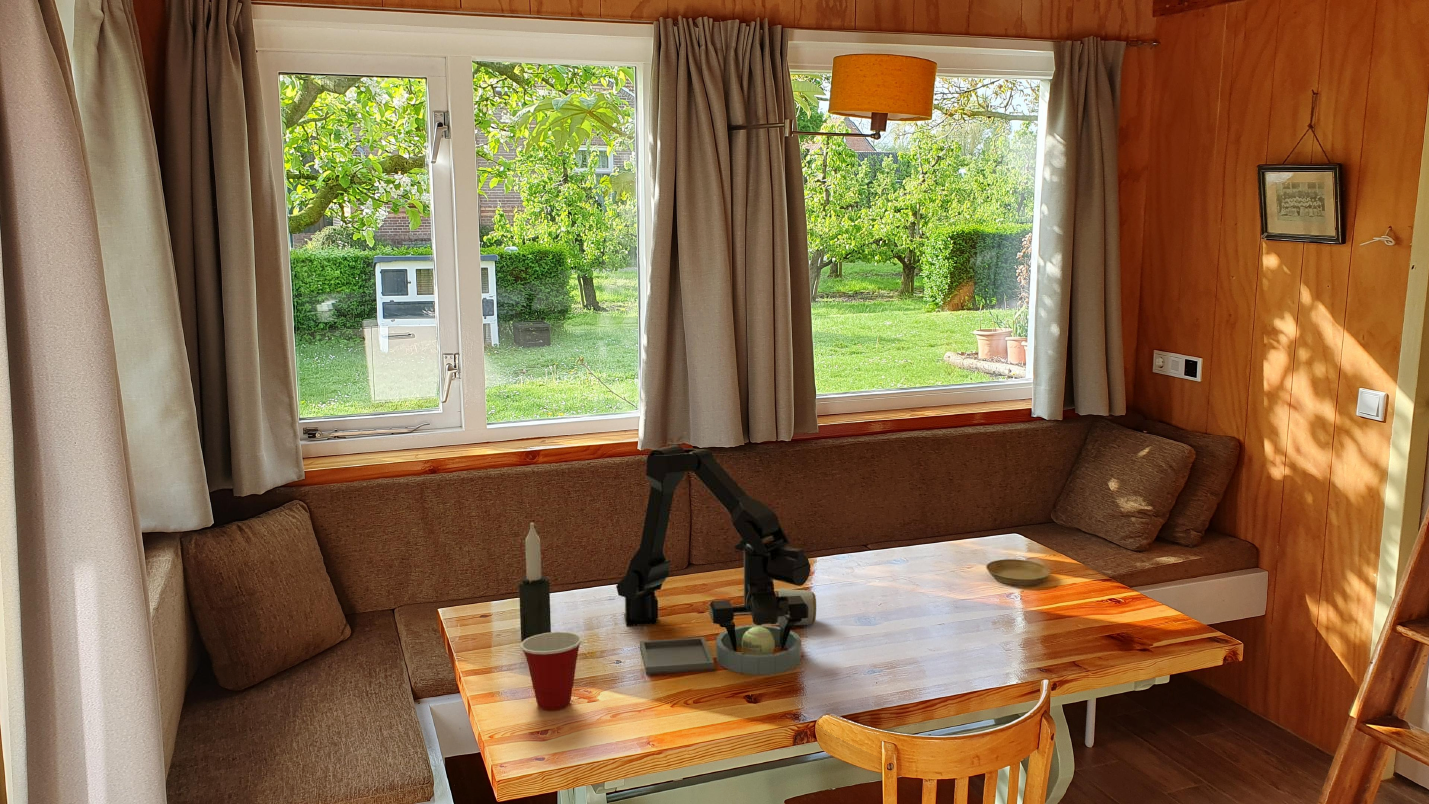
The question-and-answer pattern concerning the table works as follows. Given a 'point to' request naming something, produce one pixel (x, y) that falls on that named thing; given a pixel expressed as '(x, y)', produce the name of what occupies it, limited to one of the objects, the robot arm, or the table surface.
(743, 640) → the tennis ball
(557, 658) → the plastic cup
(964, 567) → the table surface
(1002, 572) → the plant saucer
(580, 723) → the table surface
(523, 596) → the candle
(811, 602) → the ceramic mug
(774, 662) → the gray open ring
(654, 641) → the tray
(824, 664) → the table surface
